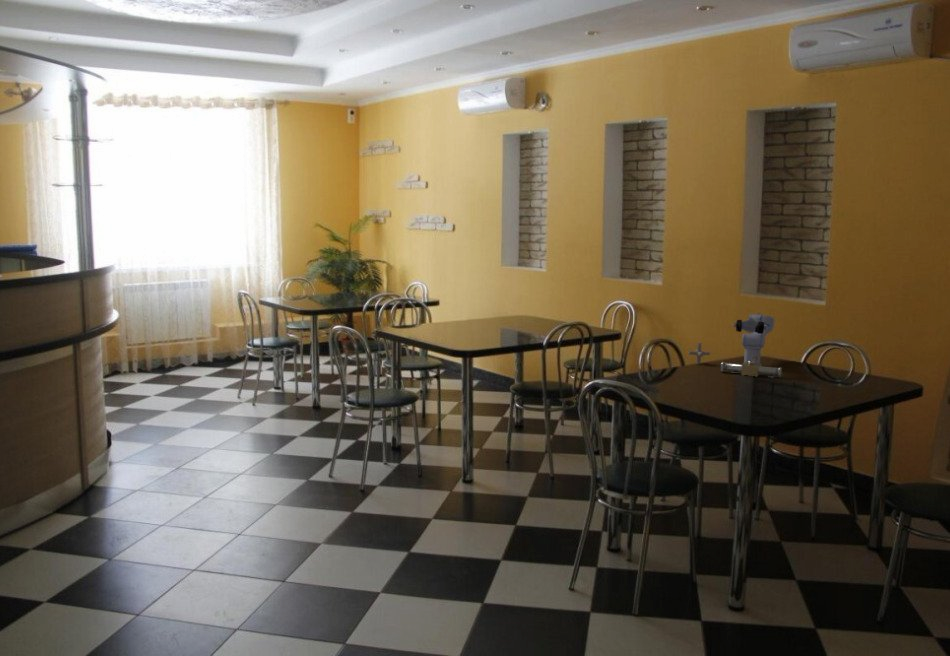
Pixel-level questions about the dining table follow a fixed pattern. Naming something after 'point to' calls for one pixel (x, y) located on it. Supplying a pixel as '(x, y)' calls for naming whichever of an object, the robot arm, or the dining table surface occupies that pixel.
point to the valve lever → (753, 360)
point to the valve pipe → (751, 369)
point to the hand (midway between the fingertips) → (747, 329)
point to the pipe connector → (699, 353)
